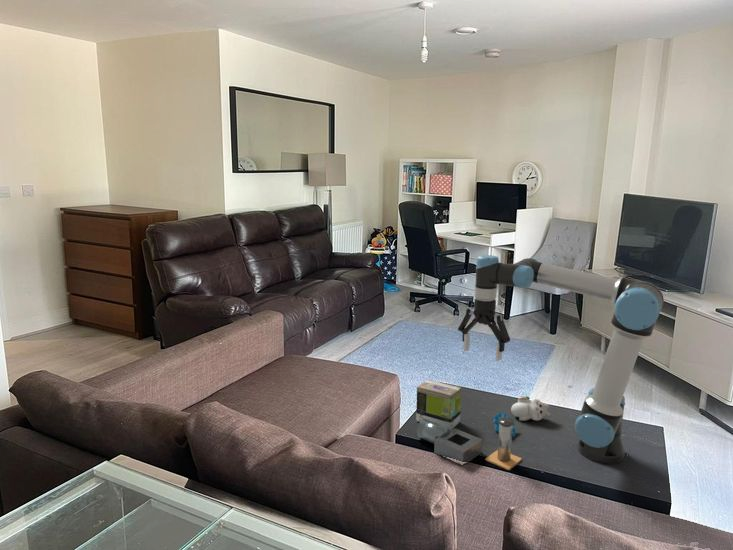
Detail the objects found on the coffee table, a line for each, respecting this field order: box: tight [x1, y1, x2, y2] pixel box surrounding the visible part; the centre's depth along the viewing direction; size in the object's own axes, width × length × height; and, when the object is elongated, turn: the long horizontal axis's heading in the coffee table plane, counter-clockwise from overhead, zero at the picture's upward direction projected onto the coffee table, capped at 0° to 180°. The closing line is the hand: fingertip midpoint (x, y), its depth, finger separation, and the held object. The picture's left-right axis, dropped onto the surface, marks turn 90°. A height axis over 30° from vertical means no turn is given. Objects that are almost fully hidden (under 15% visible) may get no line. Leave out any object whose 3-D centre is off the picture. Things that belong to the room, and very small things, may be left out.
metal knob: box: [497, 417, 515, 462], centre depth 181 cm, size 5×5×14 cm
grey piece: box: [416, 419, 484, 463], centre depth 189 cm, size 22×12×7 cm, turn 46°
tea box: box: [415, 379, 462, 430], centre depth 208 cm, size 15×10×15 cm, turn 56°
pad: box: [485, 449, 523, 471], centre depth 182 cm, size 9×9×1 cm
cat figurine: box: [510, 396, 551, 422], centre depth 212 cm, size 10×8×15 cm
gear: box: [493, 412, 517, 438], centre depth 200 cm, size 11×6×10 cm
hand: (482, 355), depth 193 cm, fingers open, 13 cm apart
